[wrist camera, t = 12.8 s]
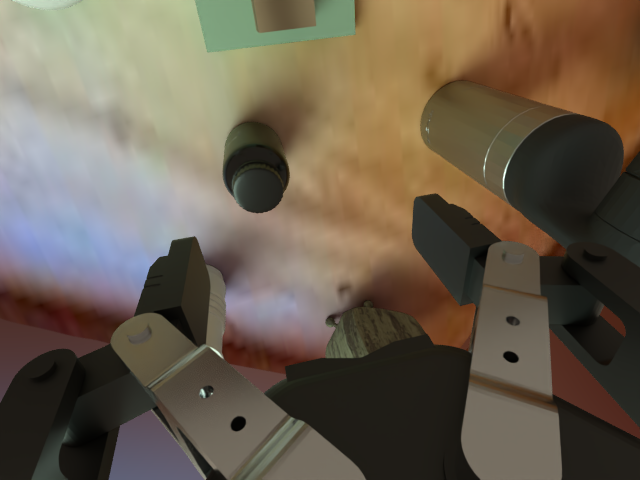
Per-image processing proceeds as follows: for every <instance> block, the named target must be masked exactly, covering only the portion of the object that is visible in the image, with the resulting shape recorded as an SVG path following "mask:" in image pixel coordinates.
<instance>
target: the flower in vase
mask: <svg viewBox="0 0 640 480" xmlns="http://www.w3.org/2000/svg"><path fill="white" fill-rule="evenodd" d="M12 1H14V2H17V3H19V4H22V5H24V6H28V7H31V8H35V9H42V10H59V9H65V8H68V7H71V6H73V5H75V4H77V3H79V2H80V1H82V0H12Z"/></svg>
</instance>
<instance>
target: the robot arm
mask: <svg viewBox="0 0 640 480" xmlns="http://www.w3.org/2000/svg"><path fill="white" fill-rule="evenodd" d="M421 134H422V138H423V140H424V142H425V144H426V145H427V146H428V147H429V148H430V149H431V150H433V151H434V152H436V153H437V154H438V155H440V156H441V157H443V158H444V159H445V160H447V161H448V162H449V163H451V164H452V165H454V166H455V167H457V168H458V169H459V170H461V171H462V172H464V173H465V174H467V175H468V176H469V177H471V178H472V179H474V180H475V181H477V182H478V183H479V184H481V185H482V186H484V187H485V188H486V189H488V190H489V191H491V192H492V193H494V194H495V195H497V196H498V197H500V198H501V199H502V200H504V201H505V202H507V203H508V204H509V205H511V206H512V207H514V208H515V209H517V210H518V211H520V212H521V213H522V214H523V215H524V216H525V217H526V218H527V219H528V220H529V221H531V222H532V223H533V224H535V225H536V226H537V227H539V228H540V229H541V230H543V231H544V232H546V233H547V234H548V235H549V236H551V237H552V238H553V239H554V240H556V241H557V242H558V243H559V244H561V245H562V246H563V247H564V248H565V249H566V252H565V255H564V257H553V256H539V255H538V254H537V252H536V251H535V250H533V249H532V248H530V247H529V246H527V245H524V244H521V243H517V242H511V241H501V240H500V239H499V238H498V237H496V236H495V235H494V234H493V233H492V232H491V231H489V230H488V229H487V228H486V227H485V226H484V225H482V224H480V222H479V221H478V220H477V219H476V218H473V216H472V215H471V214H470V213H469V212H467V211H466V210H465V209H463V208H461V207H459V206H456V205H454V204H448V203H447V202H446V201H445V200H444V199H443V198H442V197H440V196H439V195H438V194H430V195H424V196H419V197H416V198H415V200H414V207H413V223H412V239H413V243H414V245H415V247H416V249H417V250H418V252H419V253H420V254H421V255H422V257H423V258H424V259H425V261H426V262H427V263H428V265H429V266H430V267H431V268H432V270H433V271H434V272H435V274H436V275H437V276H438V278H439V279H440V280H441V281H442V283H443V284H444V285H445V287H446V288H447V289H448V291H449V292H450V293H451V294H452V296H453V297H454V298H455V300H456V301H457V302H458V304H459V305H460V306H461V305H466V304H470V303H474V304H475V305H476V310H475V315H474V321H473V327H472V333H471V338H470V345H469V350H468V351H466V350H463V349H460V348H456V347H452V346H447V345H434V344H433V342H432V341H431V339H430V337H429V336H428V334H424V335H420V336H416V337H411V338H407V339H403V340H398V341H394V342H392V343H390V344H388V345H386V346H384V347H382V348H380V349H378V350H376V351H374V352H372V353H370V354H368V355H366V356H363V357H360V358H320V359H315V360H311V361H307V362H302V363H298V364H294V365H289V366H285V370H286V377H287V378H286V379H284V380H282V381H280V382H279V383H277V384H275V385H274V386H272V387H271V388H270V389H268V390H267V391H266V392H265V393H264V394H263V393H262V392H261V391H260V390H259V389H258V388H256V387H255V386H254V385H253V384H251V382H249V381H248V380H247V379H246V378H244V376H242V375H241V374H240V373H239V372H238V371H237V370H235V369H234V368H233V367H232V366H231V365H230V364H228V363H227V362H226V361H225V360H224V359H223V358H221V357H220V356H219V355H218V354H217V353H216V352H214V351H213V350H212V349H211V348H210V347H208V346H207V345H206V337H207V325H208V313H209V301H210V289H211V285H210V277H209V273H208V270H207V267H206V264H205V261H204V258H203V255H202V252H201V249H200V246H199V243H198V241H197V239H196V237H195V236H194V237H188V238H183V239H177V240H173V241H172V243H171V246H170V250H169V254H168V256H163V257H159V258H158V259H157V260H156V261H155V263H154V264H153V265H152V266H151V267H150V269H149V272H148V275H147V280H146V281H145V284H144V289H143V290H142V293H141V297H140V300H139V303H138V306H137V309H136V312H135V315H134V317H133V318H131V319H129V320H127V321H126V322H124V323H123V324H122V325H121V326H119V328H118V329H117V330H116V331H115V332H114V334H113V336H112V338H111V343H110V344H109V345H107V346H105V347H103V348H100V349H98V350H96V351H93V352H91V353H89V354H86V355H84V356H82V357H80V358H77V356H76V355H75V353H74V352H73V351H71V350H69V349H57V350H52V351H49V352H47V353H44V354H42V355H40V356H38V357H37V358H35V359H33V360H32V361H30V362H29V363H27V364H26V365H25V366H24V367H23V368H22V369H21V370H20V371H19V372H18V373H17V374H16V375H15V377H14V379H13V380H12V382H11V384H10V386H9V388H8V390H7V391H6V393H5V395H4V397H3V399H2V401H1V403H0V480H108V479H109V475H110V470H111V465H112V461H113V456H114V451H115V446H116V442H117V437H118V432H119V428H120V425H122V424H124V423H126V422H127V421H129V420H131V419H133V418H135V417H137V416H139V415H141V414H143V413H145V412H147V411H149V410H152V412H153V413H154V414H155V415H156V417H157V418H158V419H159V420H160V421H161V423H162V424H163V425H164V427H165V428H166V429H167V430H168V431H169V433H170V434H171V435H172V437H173V438H174V439H175V440H176V442H177V443H178V444H179V445H180V446H181V448H182V449H183V450H184V452H185V453H186V454H187V456H188V457H189V458H190V460H191V462H192V463H193V464H194V466H195V467H196V469H197V470H198V471H199V473H200V474H201V475H202V477H203V478H204V479H205V480H640V439H639V438H637V437H635V436H633V435H631V434H629V433H627V432H625V431H623V430H621V429H619V428H617V427H615V426H613V425H612V424H609V423H607V422H605V421H604V420H602V419H600V418H598V417H596V416H594V415H592V414H590V413H588V412H586V411H584V410H582V409H580V408H578V407H577V406H574V405H573V404H571V403H569V402H567V401H565V400H563V399H561V398H559V397H557V396H555V395H553V394H552V380H551V360H550V340H549V328H550V329H551V330H552V331H553V332H554V334H555V335H556V336H557V337H558V338H559V339H560V340H561V341H562V342H563V343H564V345H565V346H567V348H568V349H569V350H570V351H571V352H572V353H573V354H574V356H575V357H576V358H577V359H578V360H579V361H580V362H581V363H582V364H583V366H584V367H585V368H586V369H587V370H588V371H589V372H590V373H591V374H592V376H593V377H594V378H595V379H596V380H597V381H598V382H599V383H600V384H601V385H602V386H603V388H604V389H605V390H606V391H607V392H608V393H609V394H610V395H611V396H612V398H613V399H614V400H615V401H616V402H617V403H618V404H619V405H620V406H621V408H622V409H623V410H624V411H625V412H626V413H627V414H628V415H629V416H630V418H631V419H632V420H633V421H634V422H635V423H636V424H637V425H638V426H639V427H640V151H639V153H638V154H637V155H636V157H635V158H634V159H633V160H632V162H631V163H630V164H629V165H628V167H627V168H626V171H627V172H623V173H622V175H621V176H620V173H621V169H622V165H623V157H624V150H623V144H622V140H621V138H620V136H619V134H618V133H617V131H616V130H615V129H614V128H612V127H611V126H610V125H608V124H607V123H605V122H602V121H600V120H597V119H594V118H591V117H587V116H584V115H580V114H577V113H573V112H570V111H567V110H563V109H560V108H556V107H553V106H549V105H546V104H543V103H539V102H536V101H533V100H529V99H526V98H523V97H519V96H516V95H513V94H509V93H506V92H503V91H499V90H496V89H493V88H490V87H487V86H483V85H480V84H477V83H473V82H470V81H455V82H452V83H450V84H447V85H446V86H444V87H442V88H441V89H440V90H438V91H437V92H436V93H435V94H434V95H433V96H432V98H431V99H430V100H429V102H428V103H427V105H426V107H425V109H424V112H423V115H422V119H421ZM604 305H605V306H606V307H607V308H609V309H610V310H611V311H612V312H613V313H614V314H615V315H617V316H618V317H619V318H620V319H621V321H622V322H623V324H624V326H625V329H626V336H625V337H624V336H622V335H621V334H620V333H619V332H618V331H617V330H616V329H615V328H614V327H612V326H611V325H610V324H609V323H608V322H607V321H606V320H605V319H604V318H603V317H601V316H600V315H599V314H600V312H601V310H602V308H603V306H604Z"/></svg>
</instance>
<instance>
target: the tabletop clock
mask: <svg viewBox="0 0 640 480" xmlns="http://www.w3.org/2000/svg"><path fill="white" fill-rule="evenodd" d="M326 325H327V326H328V327H333V326H334V327H336V329H335V331H334V333H333V335H332V337H331V339H330V341H329V343H328V345H327V348H326V358H360V357H363V356H366V355H368V354H370V353H372V352H374V351H376V350H378V349H380V348H382V347H384V346H386V345H388V344H390V343H392V342H394V341H398V340H403V339H407V338H411V337H416V336H420V335H424V334H426V333H425V332H424V330H423V328H422V327H421V326H420V324H419V323H418V322H417V321H416V320H415V319H414V318H413V317H412V316H410V315H408V314H405V313H401V312H396V311H391V310H385V309H379V308H373V303H372V302H371V301H365V302H364V307H356V308H353V309H351V310H349V311H347V312H344V313H343V315H342V317H341V319H340V321H339V323H338V324H336V323H335V321H334V319H333V318H328V319H326Z"/></svg>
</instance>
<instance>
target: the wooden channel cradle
mask: <svg viewBox="0 0 640 480" xmlns="http://www.w3.org/2000/svg"><path fill="white" fill-rule="evenodd" d="M251 2H252V8H253V14H254V20H255V26H256V31H257V32H259V33H265V32H273V31H281V30H289V29H297V28H305V27H313V26H316V17H315V6H314V0H251Z"/></svg>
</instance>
